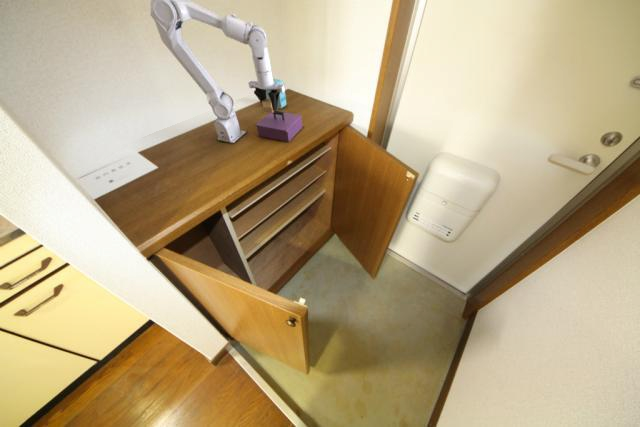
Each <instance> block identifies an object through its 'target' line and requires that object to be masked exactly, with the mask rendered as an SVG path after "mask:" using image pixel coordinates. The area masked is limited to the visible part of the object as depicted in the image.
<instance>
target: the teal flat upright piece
mask: <svg viewBox="0 0 640 427" xmlns="http://www.w3.org/2000/svg"><path fill="white" fill-rule="evenodd" d="M273 82H274V83H277V84H280V85H284V86H285V83H284V81H283V80H281V79H278V78H273ZM269 92H271V90H266V98H270V97H269V95H268V93H269ZM286 106H287V96H286V90H285V91H284V92H283V93H280V95H279V98H278V105H277V110H281V109H282V108H284V107H286Z"/></svg>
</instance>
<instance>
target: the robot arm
mask: <svg viewBox="0 0 640 427" xmlns="http://www.w3.org/2000/svg"><path fill="white" fill-rule="evenodd" d="M150 16H151V18H152V19H153V20H154V23H155V26H156V28H157V31H158V34H159V37H160V40H161V41H162V44H164V45H165V47H166V48H167V49H168V50H169V51H170V53H171V54H172V55H173V56H174V58H175V59H176V60H177V61H178V62H179V64H180V65H181V67H182V68H183V69H184V70H185V71H186V73H188V75H189V76H190V77H191V78H192V80H193V81H194V82H195V84H197V86H198V88H200V89H201V91H202V92H203V94H205V96H206V100H207V103H208V104H209V106H210V107H211V110H212V113H213V114H214V115H215V117H216V119H215V121H214V122H213V128H214V129H215V132H216V135H217V140H218V141H222V142H227V143H231V144H234V143H235V142H236V141H238V140H239V139H240V138H241V137H243V136H245V135H246V133H247V131H246V130H242V129H241V127H240V123H239V120H238V116H237V113H236V111H235V110H234V108H233V107H234V99H233V97H232V96H231V95H230V94H229V93H227V92H226V91H224V89H223V88H222V87H221V86H218V85H217V83H216V82H215V81H214V80H213V78H212V77H211V76H210V74H209V73H208V72H207V71H206V69H205V67H203V65H202V64H201V63H200V61H199V60H198V59H197V57H196V56H195V55H194V53H193V52H192V51H191V49H190V48H189V47H188V45H187V44H186V43H185V41H184V40H183V38H182V27H183V26H182V25H183V23H184V22H185V21H189V20H195V21H198V22H200V23H203V24H206V25H208V26H211V27H214V28H217V29H219V30H221V31H222V32H223V34H224V36H225V37H227V38H229V39H231V40H234V41H236V42H239V43H241V44H244V45H246V46H247V45H248V46H249V48H250V49H251V50H250V51H251V53H252V61H253V62H252V63H253V68H254V71H255V77H256V81H255V80H254V81H253V80H251V81H248V87H249V88H248V89H255V90H253V94H254V95H255V97H256V98H257V99H258V100H259V102H260V104H261V107H263V104H262V101H263V100H264V99H266V90H271V92H269V93H268V95H269V97H270V100H271V103H272V108H273V111H278V108H277V105H278V98H279V95H280V93H283V92H284V91H285V92H286V89H285V88H286V87H285V84H284V85H280V84H277V83H274V82H273V79H274V77H273V72H272V71H273V70H272V64H271V59H270V54H269V48H268V45H267V44H268V42H267V40H268V38H267V34H266V31H265V29H264V28H263V27H261V26H260V24H253V22H252V21H249V22H247V21H245V20H242V19H241V18H238V17H237V16H238V15H237V14H236V13H234V12H232V13H231V14H230V13H227V14H225V15H224V16H222V15H220V14H218V13H216V12H214V11H212V10H209V9H208V8H205V7H204V6H201V5H200V4H198V3H195V2H193V1H191V0H150Z"/></svg>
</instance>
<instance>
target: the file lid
mask: <svg viewBox="0 0 640 427" xmlns="http://www.w3.org/2000/svg"><path fill="white" fill-rule="evenodd" d="M301 117H302V115H301V114H296V113H290V112H285V111H280V110H276V111H274V112H273V113H269V112H268V113H267V114H266V115H265V116H264V117H263V118H262V119H260V120H259V121H258V122H257V123H256V124H255V127H257V126H258V127H263V128H268V129H274V130H279V131H284V132H287V131H288V130H289V129H290V128H291V127H292V126H293V125H294V124H295V123H296V122H297V121H298V120H299V119H300V118H301ZM302 118H303V117H302Z"/></svg>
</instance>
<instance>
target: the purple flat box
mask: <svg viewBox="0 0 640 427" xmlns="http://www.w3.org/2000/svg"><path fill="white" fill-rule="evenodd" d="M302 128H303V117H301V118H300V119H299V120H298V121H297V122H296V123H295V124H294V125H293V126H292V127H291V128H290V129H289V130H288V131H287V132H284V131H279V130H274V129H268V128H263V127H258V126H256V129H257V134H258V137H262V138H267V139H272V140H277V141H282V142H287V143H290V142H291V141H292V139H293V138H294V137H295V136H296V135H297V134H298V133H299V132H300V130H301V129H302Z"/></svg>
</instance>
